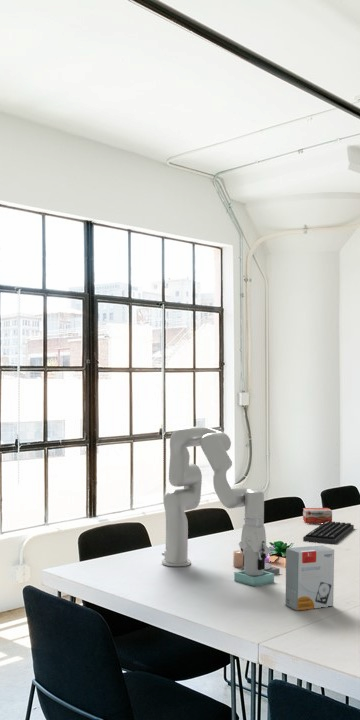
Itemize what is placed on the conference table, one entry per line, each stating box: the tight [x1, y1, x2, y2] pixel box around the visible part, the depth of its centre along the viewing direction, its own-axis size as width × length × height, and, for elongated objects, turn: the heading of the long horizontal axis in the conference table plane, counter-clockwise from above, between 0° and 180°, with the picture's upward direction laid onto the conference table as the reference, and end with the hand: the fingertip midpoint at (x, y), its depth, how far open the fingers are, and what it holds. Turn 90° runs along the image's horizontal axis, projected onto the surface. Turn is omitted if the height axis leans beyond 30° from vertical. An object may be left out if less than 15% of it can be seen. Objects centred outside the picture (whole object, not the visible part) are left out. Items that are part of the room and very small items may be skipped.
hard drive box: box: [284, 545, 335, 611], centre depth 251 cm, size 16×8×20 cm, turn 114°
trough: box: [233, 570, 275, 587], centre depth 283 cm, size 11×11×3 cm
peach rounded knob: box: [232, 549, 244, 569], centre depth 307 cm, size 6×6×6 cm
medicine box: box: [302, 507, 333, 524], centre depth 411 cm, size 15×8×8 cm, turn 92°
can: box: [244, 545, 263, 577], centre depth 283 cm, size 8×8×12 cm
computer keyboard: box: [302, 521, 355, 545], centre depth 377 cm, size 45×16×4 cm, turn 155°
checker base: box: [241, 566, 280, 576], centre depth 296 cm, size 11×11×3 cm
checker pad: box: [263, 562, 273, 570], centre depth 296 cm, size 9×9×1 cm
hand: (253, 567), depth 283 cm, fingers closed on can, 7 cm apart
